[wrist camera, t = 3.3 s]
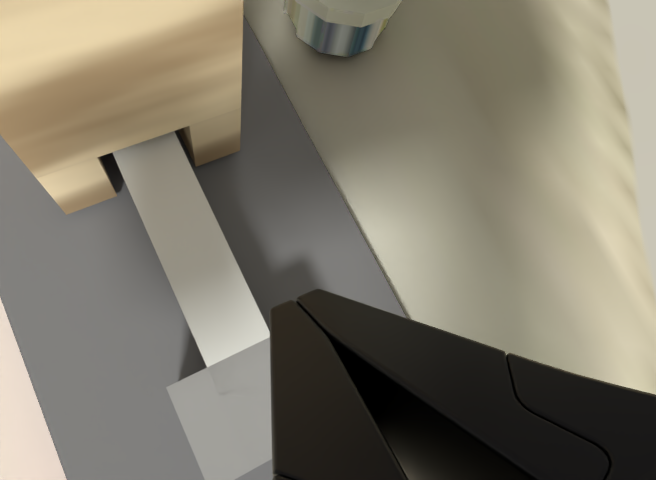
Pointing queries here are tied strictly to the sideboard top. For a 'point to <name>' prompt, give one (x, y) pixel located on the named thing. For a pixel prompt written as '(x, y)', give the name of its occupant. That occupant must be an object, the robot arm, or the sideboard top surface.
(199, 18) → the notched wooden block
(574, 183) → the sideboard top surface
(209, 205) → the grey board
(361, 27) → the grey flashlight
